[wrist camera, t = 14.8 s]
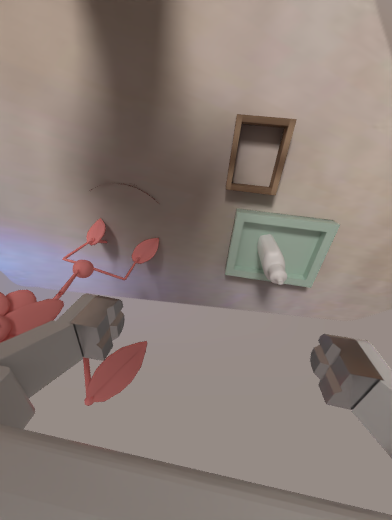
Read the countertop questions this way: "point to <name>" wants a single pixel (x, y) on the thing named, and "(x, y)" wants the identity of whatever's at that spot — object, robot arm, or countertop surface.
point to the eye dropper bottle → (271, 259)
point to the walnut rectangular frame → (281, 156)
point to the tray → (280, 245)
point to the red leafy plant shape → (38, 313)
